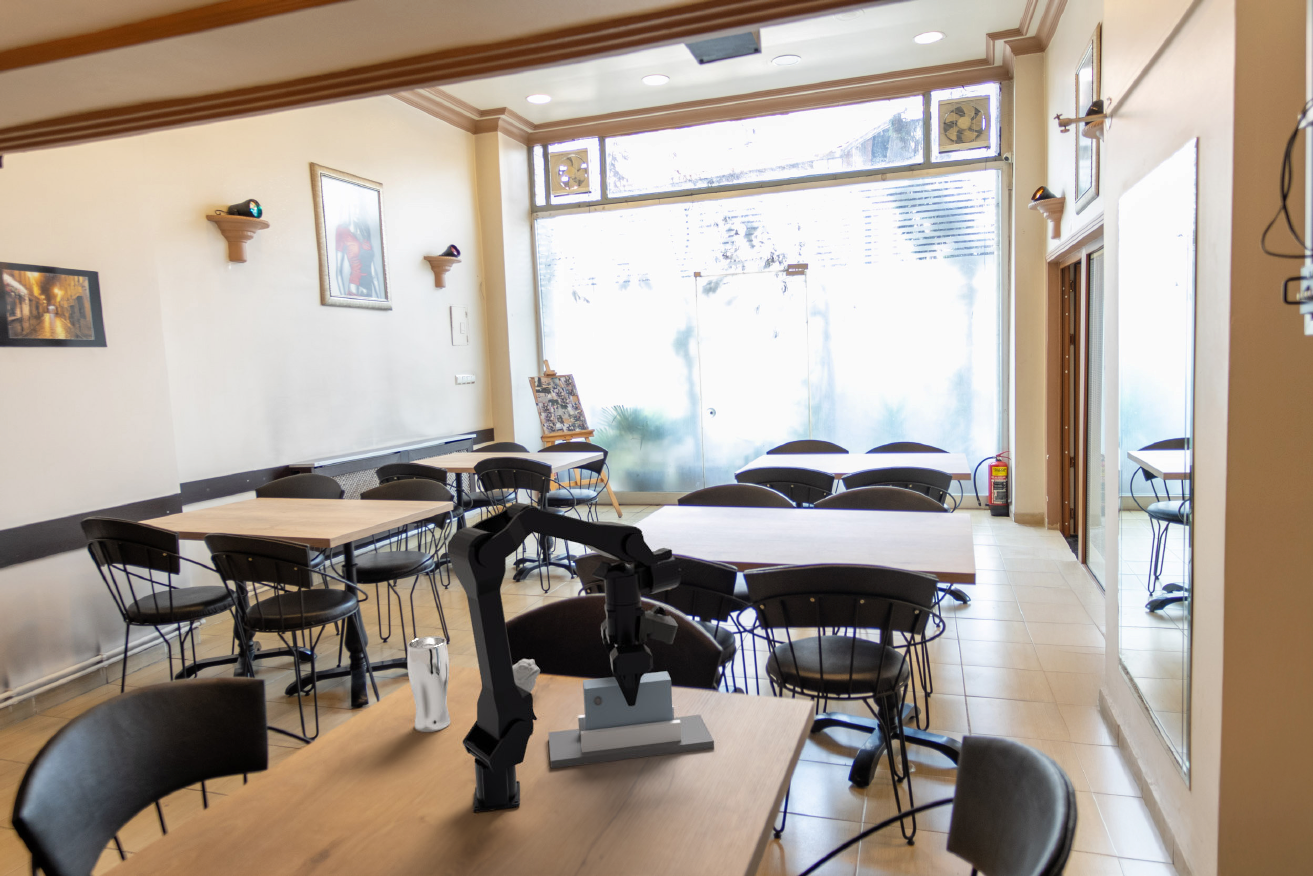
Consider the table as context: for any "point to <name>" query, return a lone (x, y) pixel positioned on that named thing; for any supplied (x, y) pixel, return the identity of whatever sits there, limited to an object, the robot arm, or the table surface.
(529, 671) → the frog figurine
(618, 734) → the hinge frame
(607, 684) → the door
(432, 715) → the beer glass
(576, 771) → the table surface
